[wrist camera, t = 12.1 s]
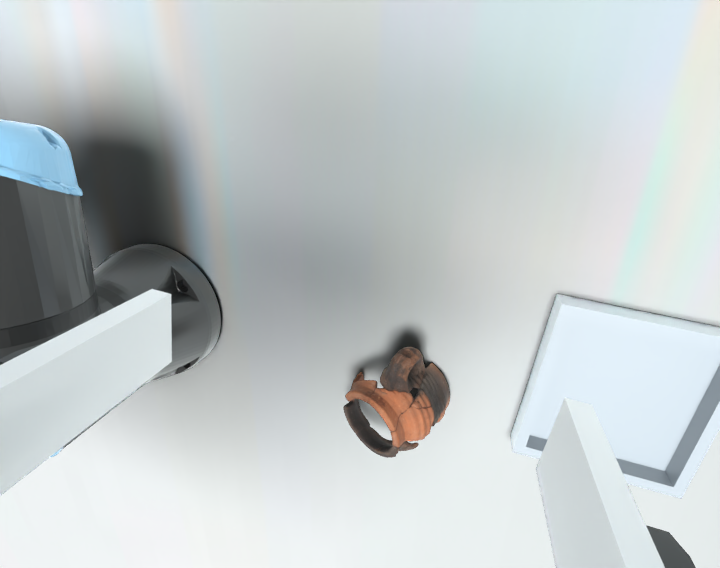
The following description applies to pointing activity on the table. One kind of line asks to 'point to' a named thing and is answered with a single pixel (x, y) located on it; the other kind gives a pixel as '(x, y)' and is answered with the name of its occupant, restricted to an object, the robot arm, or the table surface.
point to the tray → (628, 388)
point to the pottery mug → (399, 402)
